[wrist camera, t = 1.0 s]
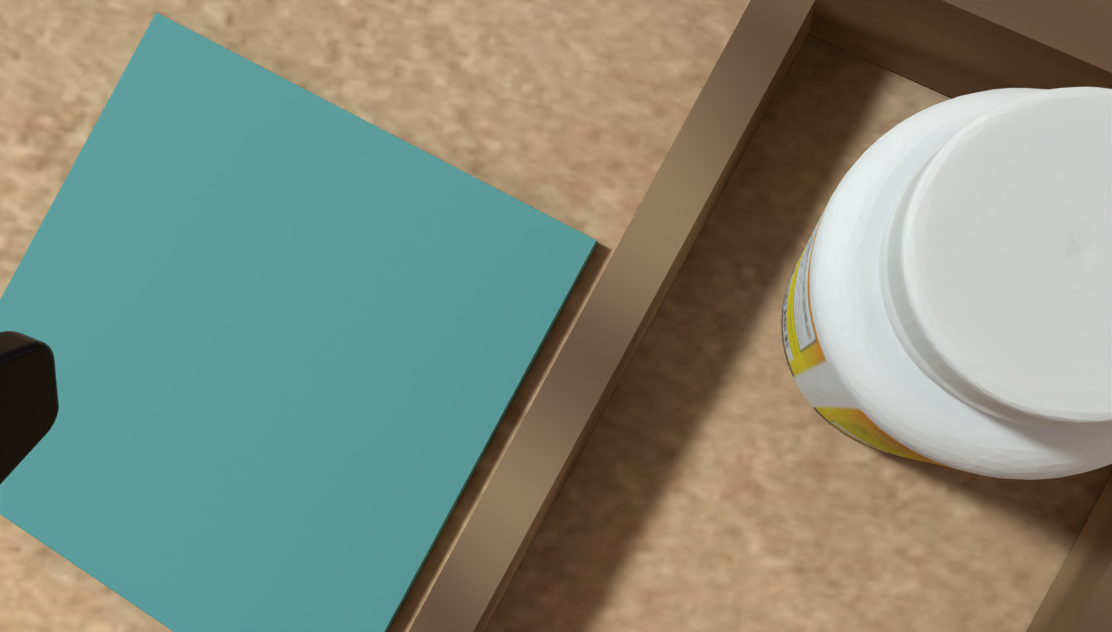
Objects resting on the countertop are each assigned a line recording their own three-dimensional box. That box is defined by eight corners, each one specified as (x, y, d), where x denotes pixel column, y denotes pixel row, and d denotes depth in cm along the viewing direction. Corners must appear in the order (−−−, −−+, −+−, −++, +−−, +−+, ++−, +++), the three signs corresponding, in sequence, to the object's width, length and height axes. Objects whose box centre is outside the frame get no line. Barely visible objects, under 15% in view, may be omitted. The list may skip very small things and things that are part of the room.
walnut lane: (843, 1105, 20) (874, 1280, 16) (350, 769, 22) (271, 849, 18) (1329, 203, 20) (1482, 153, 16) (785, -33, 22) (799, -129, 18)
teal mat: (333, 731, 22) (327, 736, 22) (-76, 456, 25) (-85, 456, 24) (597, 242, 22) (596, 240, 22) (163, 17, 25) (156, 12, 24)
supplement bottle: (1092, 386, 20) (1468, 366, 10) (850, 497, 21) (975, 582, 11) (963, 158, 21) (1190, -70, 11) (734, 270, 22) (749, 153, 12)
